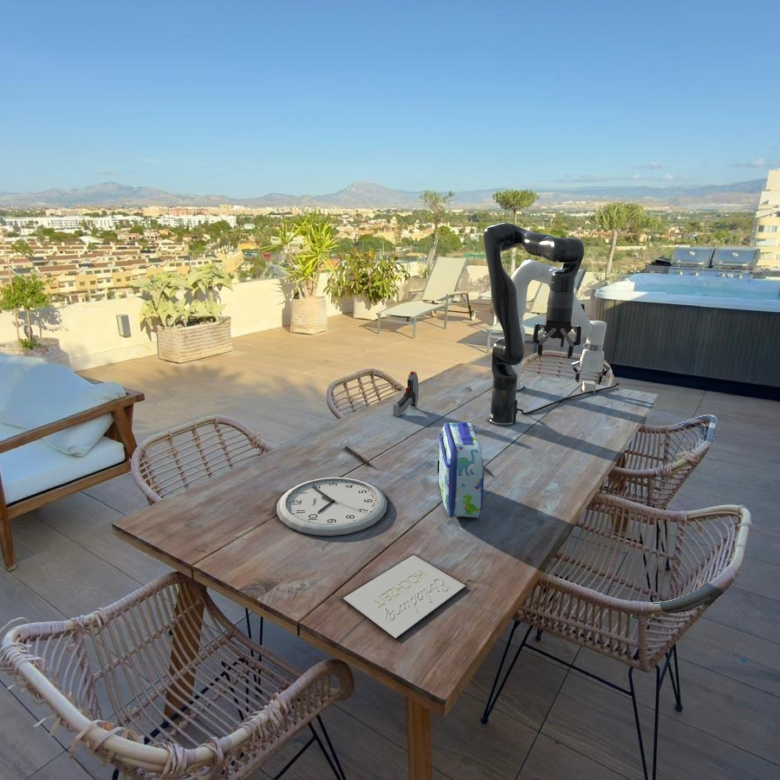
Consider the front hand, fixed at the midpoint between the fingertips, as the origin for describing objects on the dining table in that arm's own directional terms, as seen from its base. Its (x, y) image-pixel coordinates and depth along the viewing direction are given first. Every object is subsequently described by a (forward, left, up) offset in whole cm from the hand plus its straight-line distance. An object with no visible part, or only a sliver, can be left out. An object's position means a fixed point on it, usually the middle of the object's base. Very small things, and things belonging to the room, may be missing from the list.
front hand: (554, 357), depth 165 cm
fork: (+24, 0, -34) cm, 42 cm away
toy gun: (+33, -53, -34) cm, 71 cm away
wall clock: (+74, +16, -34) cm, 83 cm away
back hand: (-60, -63, -30) cm, 92 cm away
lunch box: (+39, +21, -34) cm, 56 cm away
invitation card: (+64, +55, -34) cm, 91 cm away
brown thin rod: (+61, -13, -34) cm, 71 cm away
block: (-60, -63, -34) cm, 94 cm away
